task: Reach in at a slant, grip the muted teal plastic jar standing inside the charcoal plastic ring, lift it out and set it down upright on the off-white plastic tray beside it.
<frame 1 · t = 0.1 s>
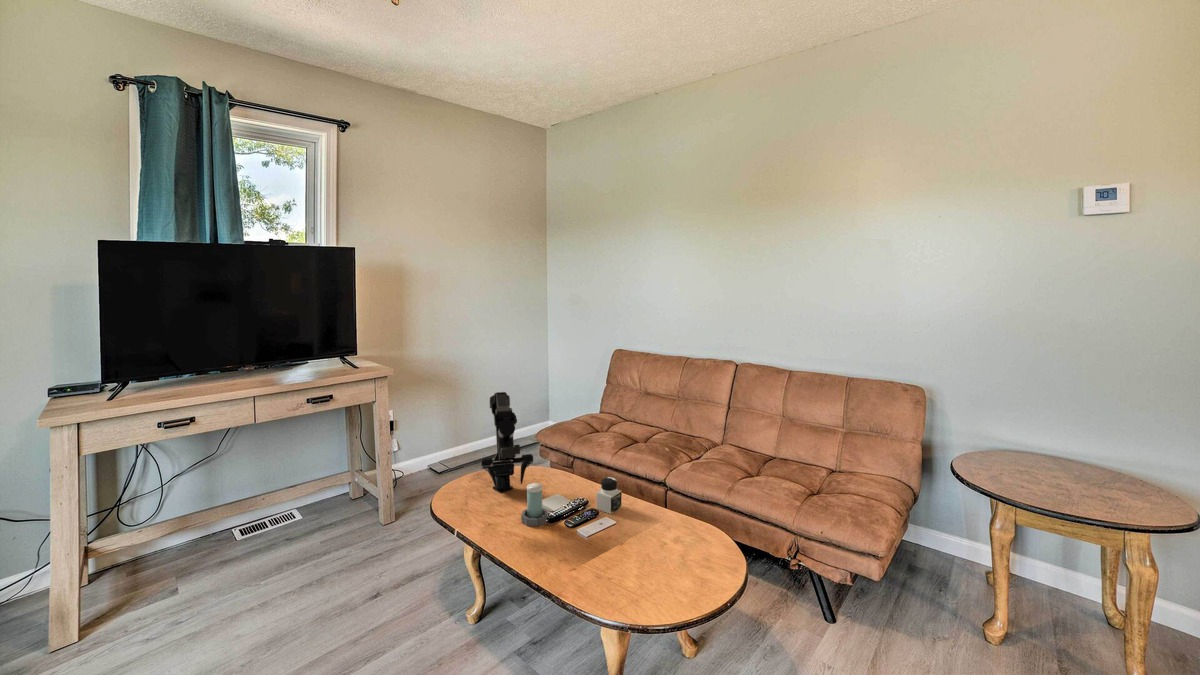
hand: (508, 485, 176), 15 cm above the table, tool tilted 35°, fingers open, 9 cm apart
tray: (560, 507, 191), on the table
holder ring: (535, 519, 182), on the table
jar: (534, 503, 181), in the holder ring
medicine bottle: (609, 509, 190), on the table
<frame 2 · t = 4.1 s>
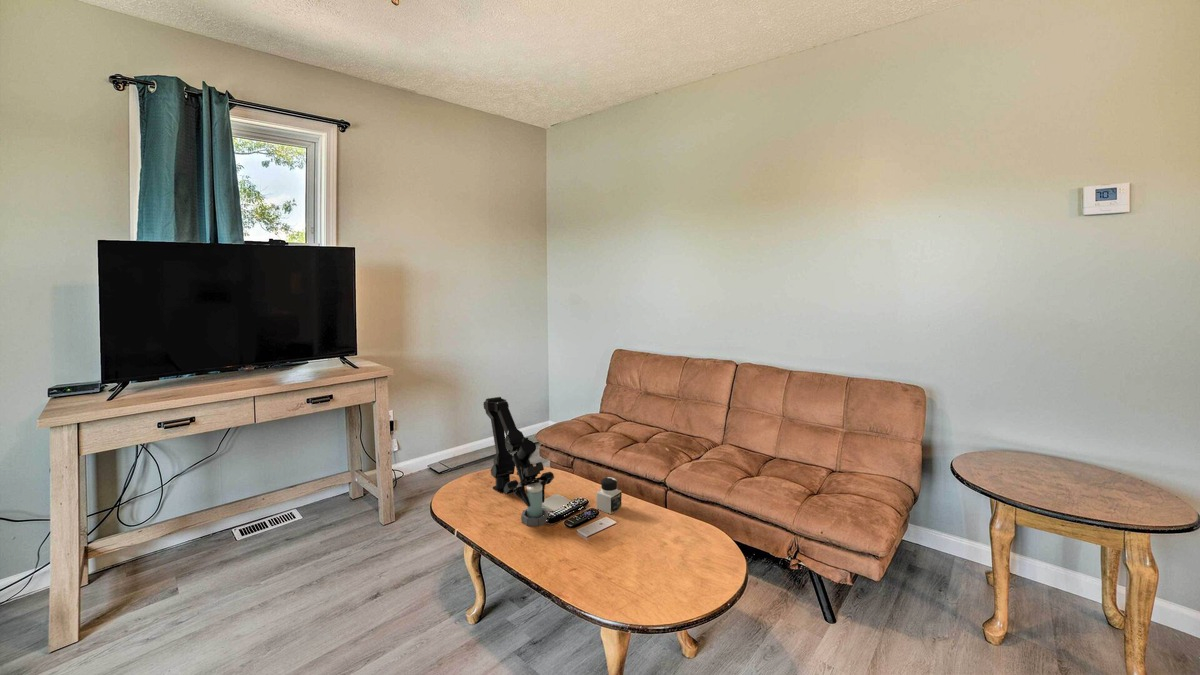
hand: (536, 504, 180), 7 cm above the table, tool tilted 45°, fingers closed on jar, 5 cm apart
jar: (534, 503, 181), in the holder ring, touching gripper
everything else where it was.
when the fingers open (9 cm above the table, at t = 9.6 s): jar drops 1 cm, resting on tray.
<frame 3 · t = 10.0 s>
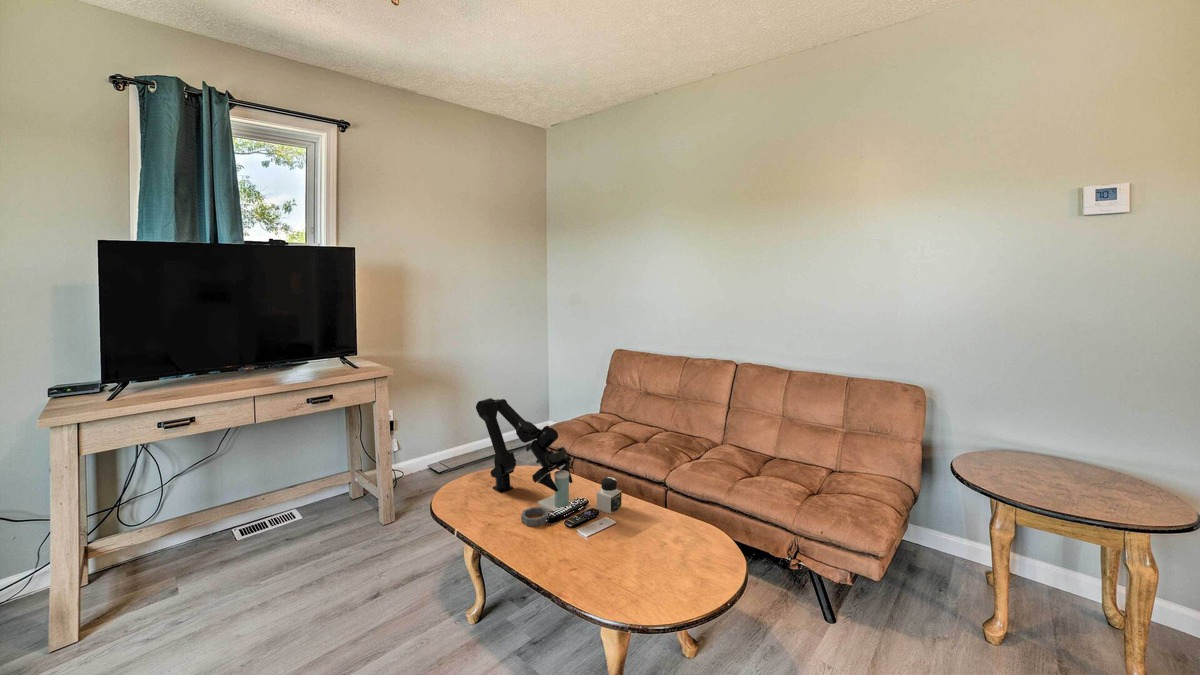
hand: (564, 486, 189), 9 cm above the table, tool tilted 45°, fingers open, 9 cm apart
jar: (561, 489, 190), on the tray, point 8 cm above the table
everything else where it was.
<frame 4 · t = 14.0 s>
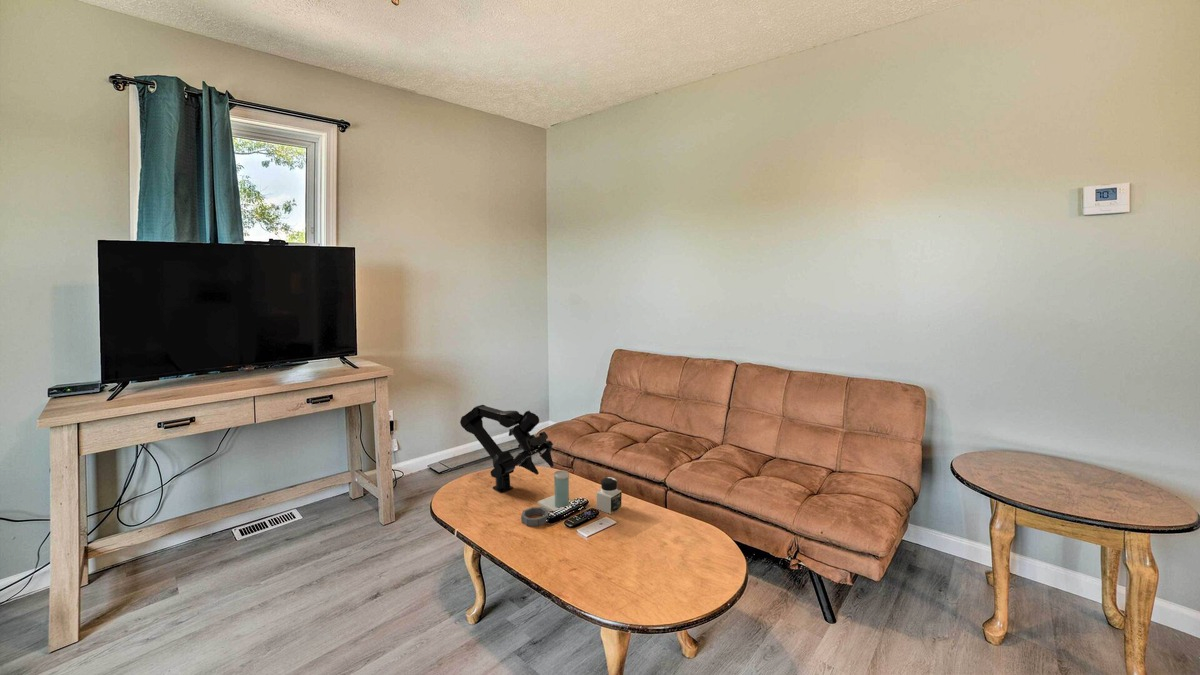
hand: (545, 470, 193), 14 cm above the table, tool tilted 45°, fingers open, 9 cm apart
nothing on the table moved.
at the end: jar inside the target area on the tray (0.0 cm from its centre), point 7.7 cm above the tray's base; jar tilted 0°; jar touching tray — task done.
